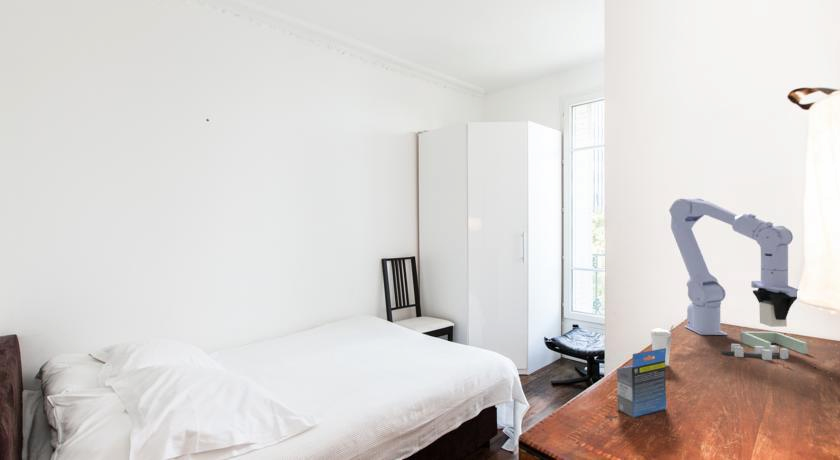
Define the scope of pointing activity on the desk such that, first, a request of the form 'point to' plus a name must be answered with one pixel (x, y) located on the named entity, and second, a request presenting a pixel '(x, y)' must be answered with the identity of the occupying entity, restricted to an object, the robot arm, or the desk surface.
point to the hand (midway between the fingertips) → (774, 317)
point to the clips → (760, 351)
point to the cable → (750, 354)
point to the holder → (772, 340)
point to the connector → (769, 315)
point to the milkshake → (661, 341)
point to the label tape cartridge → (642, 384)
